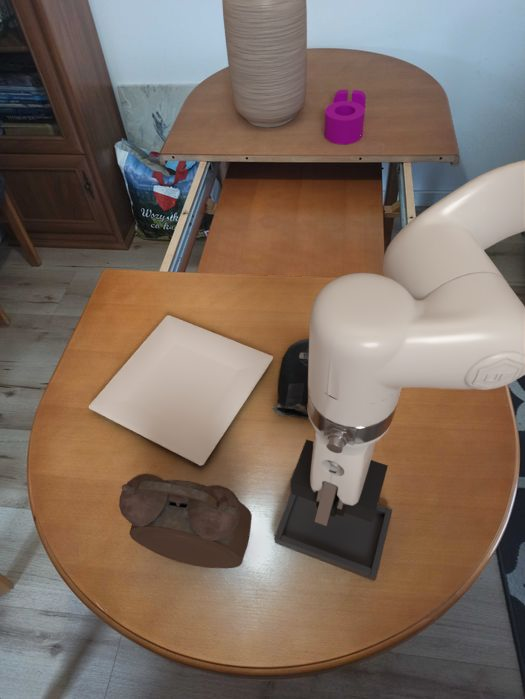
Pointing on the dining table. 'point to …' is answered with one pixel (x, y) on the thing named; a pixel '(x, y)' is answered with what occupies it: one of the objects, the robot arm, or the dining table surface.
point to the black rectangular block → (361, 509)
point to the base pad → (335, 536)
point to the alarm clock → (187, 520)
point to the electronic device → (294, 381)
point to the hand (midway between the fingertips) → (338, 483)
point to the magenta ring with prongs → (345, 117)
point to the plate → (182, 387)
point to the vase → (267, 58)
